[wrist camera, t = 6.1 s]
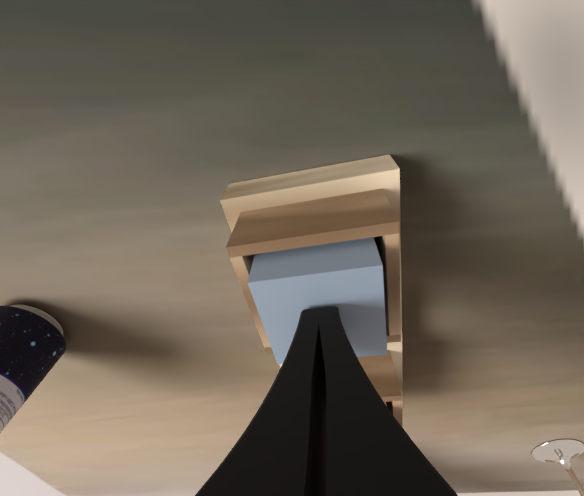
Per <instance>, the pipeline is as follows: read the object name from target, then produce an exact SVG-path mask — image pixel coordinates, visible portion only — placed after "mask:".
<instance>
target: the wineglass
mask: <svg viewBox="0 0 584 496" xmlns="http://www.w3.org/2000/svg"><path fill="white" fill-rule="evenodd" d="M583 452H584V444H583V443H582V442H580V441H577V440H572V439H561V440H554V441H549V442H546V443H543V444H541V445H539V446H537V447H536V448H534V449H533V451H532V453H531V455H532V457H533V458H534V459H536V460H538V461H542V462H557V463H559V464H560V465H562V466H563V467H564V469H565V470H566V471H567V472H568V474H569V476H570V477H571V479H572V480H573V482H574V484H575V485H576V487H577V489H578V491H579V493H580V495H581V496H584V488H583V486H582V485H581V483H580V481H579V480H578V478H577V477H576V475H575V473H574V471H573V469H572V467H571V464H570V460H571V459H572V458H575V457H577V456H579V455H580V454H582V453H583Z"/></svg>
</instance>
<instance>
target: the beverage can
mask: <svg viewBox="0 0 584 496" xmlns="http://www.w3.org/2000/svg"><path fill="white" fill-rule="evenodd" d="M65 349H66V343H65V339H64V337H63V329H62V327H61V325H60V324H59V323H58V322H57V321H56V320H55V319H54V318H53V317H52V316H50V315H49V314H47V313H46V312H44V311H42V310H40V309H37V308H35V307H31V306H27V305H11V306H0V433H1V431H2V430H3V429H4V428H5V426H6V425H7V424H8V423H9V421H10V420H11V419H12V417H13V416H14V415H15V414H16V412H17V411H18V410H19V409H20V407H21V406H22V405H23V404H24V402H25V401H26V400H27V399H28V397H29V396H30V395H31V394H32V392H33V391H34V390H35V389H36V387H37V386H38V385H39V384H40V382H41V381H42V380H43V379H44V377H45V376H46V375H47V373H48V372H49V371H50V370H51V368H52V367H53V366H54V365H55V363H56V362H57V361H58V360H59V358H60V357H61V356H62V355H63V353H64V352H65Z"/></svg>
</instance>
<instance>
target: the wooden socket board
mask: <svg viewBox="0 0 584 496" xmlns="http://www.w3.org/2000/svg"><path fill="white" fill-rule="evenodd" d="M220 201H221V204H222V207H223V210H224V212H225V215H226V218H227V221H228V223H229V226H230V229H231V232H232V234H231V236H230V239H229V241H228V244H227V246H226V249H227V252H228V254H229V257H230V259H231V262H232V265H233V267H234V270H235V272H236V275H237V277H238V280H239V283H240V285H241V288H242V290H243V293H244V296H245V298H246V301H247V303H248V306H249V309H250V311H251V314H252V316H253V319H254V322H255V324H256V327H257V329H258V332H259V334H260V337H261V340H262V342H263V345H264V347H265V350H266V353H267V354H273V351H272V348H271V345H270V343H269V340H268V337H267V335H266V332H265V329H264V326H263V324H262V321H261V318H260V316H259V313H258V310H257V307H256V305H255V302H254V299H253V297H252V294H251V291H250V288H249V286H248V283H247V282H248V279H249V275H250V271H251V267H252V263H253V259H254V256H255V254H260V253H267V252H274V251H280V250H287V249H294V248H301V247H308V246H315V245H322V244H329V243H336V242H343V241H350V240H356V239H363V238H370V237H373V238H374V241H375V244H376V247H377V250H378V253H379V256H380V259H381V262H382V265H383V282H384V300H385V318H386V337H387V355H378V356H367V357H357V358H358V360H359V362H360V364H361V366H362V367H363V369H364V371H365V373H366V374H367V376H368V378H369V380H370V381H371V383H372V384H373V386H374V388H375V389H376V391H377V392H378V394H379V395H380V397H381V398H382V400H383V401H384V402H386V405H387V407H388V409H389V410H390V412H391V413H392V415H393V416H394V417H395V419H396V420H397V421H398V423H399V424H400V425H401V427H402V411H403V369H402V296H401V223H400V168H399V167H398V166H397V164H396V163H395V161H394V160H393V159H392V157H391V156H390V155H384V156H378V157H373V158H367V159H362V160H357V161H351V162H346V163H340V164H335V165H329V166H324V167H318V168H313V169H307V170H302V171H297V172H291V173H286V174H280V175H275V176H269V177H264V178H258V179H253V180H247V181H242V182H237V183H231V184H229V186H228V187H227V189H226V191H225V193H224V194H223V196H222V198H221V200H220ZM281 366H282V364H280V367H281Z"/></svg>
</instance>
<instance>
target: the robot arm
mask: <svg viewBox="0 0 584 496" xmlns="http://www.w3.org/2000/svg"><path fill="white" fill-rule="evenodd" d="M195 496H457V494H456V492H455V491H454V490H453V489H452V488H451V487H450V485H449V484H448V483H447V482H446V481H445V480H444V479H443V477H442V476H441V475H440V474H439V473H438V472H437V470H436V469H435V468H434V467H433V466H432V465H431V463H430V462H429V461H428V460H427V459H426V457H425V456H424V455H423V454H422V452H421V451H420V450H419V449H418V447H417V446H416V445H415V444H414V443H413V441H412V440H411V439H410V437H409V436H408V435H407V433H406V432H405V431H404V429H403V428H402V427H401V425H400V424H399V423H398V421H397V420H396V419H395V417H394V416H393V415H392V413H391V412H390V410H389V409H388V407H387V406H386V404H385V403H384V401H383V400H382V398H381V397H380V395H379V394H378V392H377V391H376V389H375V388H374V386H373V384H372V383H371V381H370V380H369V378H368V376H367V374H366V373H365V371H364V369H363V367H362V366H361V364H360V362H359V360H358V358H357V356H356V354H355V352H354V350H353V348H352V346H351V344H350V342H349V340H348V337H347V335H346V333H345V330H344V327H343V325H342V322H341V318H340V314H339V309H338V307H336V306H331V307H322V308H313V309H304V310H303V311H302V312H301V315H300V319H299V322H298V325H297V329H296V332H295V334H294V337H293V340H292V343H291V345H290V348H289V350H288V353H287V355H286V357H285V360H284V362H283V364H282V366H281V368H280V370H279V373H278V375H277V377H276V379H275V381H274V383H273V385H272V387H271V389H270V390H269V392H268V394H267V396H266V398H265V399H264V401H263V403H262V405H261V406H260V408H259V410H258V411H257V413H256V414H255V416H254V418H253V419H252V421H251V422H250V424H249V425H248V427H247V429H246V430H245V432H244V433H243V434H242V436H241V437H240V439H239V440H238V441H237V443H236V444H235V446H234V447H233V448H232V450H231V451H230V452H229V454H228V455H227V457H226V458H225V459H224V461H223V462H222V463H221V464H220V466H219V467H218V468H217V470H216V471H215V472H214V473H213V474H212V476H211V477H210V478H209V479H208V480H207V482H206V483H205V484H204V485H203V487H202V488H201V489H200V490H199V491H198V493H197V494H196V495H195Z"/></svg>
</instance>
